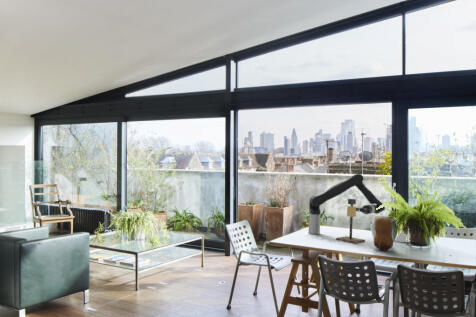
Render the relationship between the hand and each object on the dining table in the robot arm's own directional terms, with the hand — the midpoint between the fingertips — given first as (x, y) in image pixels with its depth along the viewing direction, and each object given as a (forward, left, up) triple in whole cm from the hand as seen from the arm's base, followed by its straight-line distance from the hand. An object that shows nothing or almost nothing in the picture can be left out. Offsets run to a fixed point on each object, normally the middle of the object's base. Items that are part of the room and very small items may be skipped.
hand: (357, 210), depth 349 cm
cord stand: (-3, -8, -24) cm, 26 cm away
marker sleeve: (-3, -8, -4) cm, 10 cm away
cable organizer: (+34, +17, -24) cm, 45 cm away
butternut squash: (+26, -29, -24) cm, 46 cm away
